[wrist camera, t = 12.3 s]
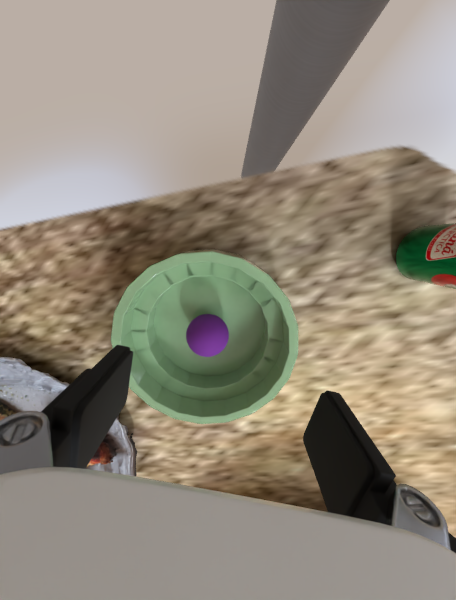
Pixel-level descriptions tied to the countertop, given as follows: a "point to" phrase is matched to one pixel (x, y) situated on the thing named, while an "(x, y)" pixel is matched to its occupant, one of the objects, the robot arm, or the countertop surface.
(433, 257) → the soda can
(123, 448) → the food plate
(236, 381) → the green bowl
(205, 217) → the countertop surface
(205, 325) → the ball
